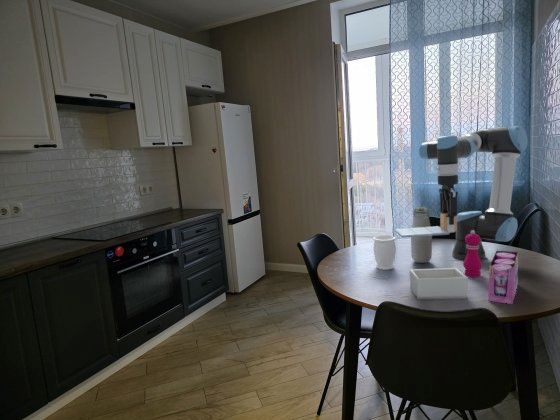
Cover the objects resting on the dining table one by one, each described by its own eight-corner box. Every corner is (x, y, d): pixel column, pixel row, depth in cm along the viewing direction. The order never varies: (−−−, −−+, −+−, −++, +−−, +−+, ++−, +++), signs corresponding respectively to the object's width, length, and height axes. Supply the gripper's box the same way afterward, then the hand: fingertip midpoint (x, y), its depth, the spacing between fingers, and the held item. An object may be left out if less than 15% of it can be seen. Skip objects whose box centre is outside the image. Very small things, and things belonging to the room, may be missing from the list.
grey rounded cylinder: (412, 265, 182) (411, 209, 178) (410, 259, 192) (409, 205, 188) (433, 265, 179) (433, 208, 175) (431, 259, 189) (430, 205, 185)
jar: (397, 270, 176) (396, 239, 173) (374, 270, 178) (373, 240, 176) (395, 264, 186) (394, 234, 184) (373, 264, 188) (372, 235, 186)
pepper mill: (480, 272, 165) (480, 228, 163) (483, 277, 159) (483, 232, 156) (462, 271, 168) (462, 228, 165) (464, 277, 161) (464, 232, 158)
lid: (448, 227, 160) (448, 211, 159) (461, 233, 147) (460, 216, 146) (394, 230, 162) (394, 215, 161) (402, 237, 149) (401, 220, 148)
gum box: (512, 306, 130) (513, 269, 128) (487, 302, 134) (487, 266, 132) (518, 284, 149) (518, 251, 147) (495, 281, 153) (495, 250, 152)
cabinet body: (455, 286, 151) (455, 267, 150) (467, 298, 139) (467, 277, 138) (410, 288, 153) (409, 269, 152) (418, 299, 141) (417, 279, 140)
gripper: (431, 174, 159) (432, 227, 163) (446, 176, 142) (447, 236, 146) (449, 172, 158) (449, 226, 162) (466, 175, 142) (466, 235, 145)
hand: (448, 230), depth 154 cm, fingers closed on lid, 4 cm apart
